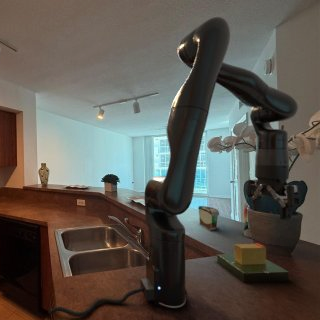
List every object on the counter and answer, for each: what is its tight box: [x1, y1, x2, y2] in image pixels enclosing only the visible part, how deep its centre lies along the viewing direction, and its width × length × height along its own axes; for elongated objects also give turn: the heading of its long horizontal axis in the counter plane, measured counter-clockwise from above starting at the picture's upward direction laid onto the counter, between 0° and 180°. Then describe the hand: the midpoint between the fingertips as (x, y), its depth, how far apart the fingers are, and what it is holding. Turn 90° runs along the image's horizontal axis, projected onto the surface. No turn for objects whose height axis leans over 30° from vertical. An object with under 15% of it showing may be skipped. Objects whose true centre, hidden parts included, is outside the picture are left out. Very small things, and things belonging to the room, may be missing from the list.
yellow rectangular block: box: [234, 242, 267, 265], centre depth 64 cm, size 8×3×6 cm, turn 92°
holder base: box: [216, 253, 290, 284], centre depth 64 cm, size 14×12×3 cm
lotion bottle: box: [243, 202, 252, 239], centre depth 91 cm, size 6×6×20 cm
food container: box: [198, 205, 220, 232], centre depth 103 cm, size 12×6×10 cm, turn 179°
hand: (270, 215), depth 61 cm, fingers open, 8 cm apart
